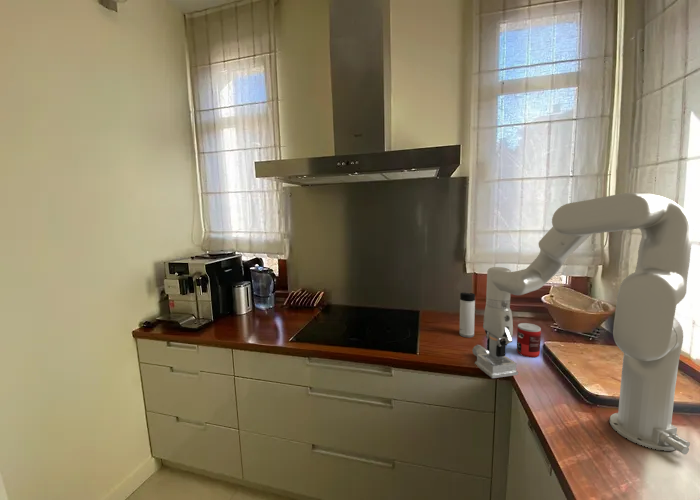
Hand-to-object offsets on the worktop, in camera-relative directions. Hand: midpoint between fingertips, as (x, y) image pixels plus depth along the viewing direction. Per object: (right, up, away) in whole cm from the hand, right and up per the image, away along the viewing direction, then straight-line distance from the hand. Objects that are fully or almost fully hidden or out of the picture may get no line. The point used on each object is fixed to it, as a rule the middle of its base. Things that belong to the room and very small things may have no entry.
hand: (495, 352), depth 109 cm
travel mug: (+1, -3, +31) cm, 31 cm away
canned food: (+18, -5, +12) cm, 23 cm away
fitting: (0, -6, +4) cm, 7 cm away
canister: (0, -1, 0) cm, 1 cm away
